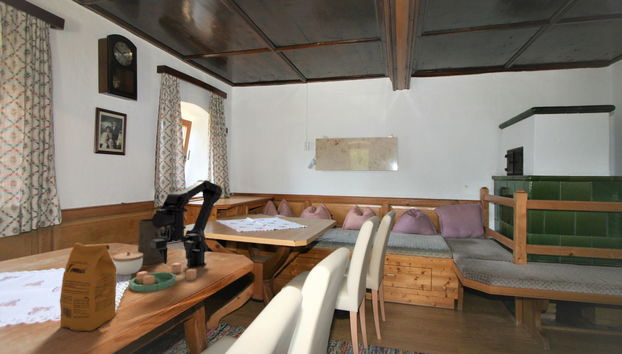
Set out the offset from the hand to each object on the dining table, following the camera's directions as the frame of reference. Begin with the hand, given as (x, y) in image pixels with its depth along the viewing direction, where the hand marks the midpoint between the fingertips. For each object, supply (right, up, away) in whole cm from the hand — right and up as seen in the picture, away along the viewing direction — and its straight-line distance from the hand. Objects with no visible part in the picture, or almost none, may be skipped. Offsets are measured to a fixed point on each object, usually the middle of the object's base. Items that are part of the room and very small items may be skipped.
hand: (176, 261), depth 127 cm
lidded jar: (-19, -5, -1) cm, 20 cm away
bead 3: (0, -5, 0) cm, 5 cm away
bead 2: (-2, -4, -18) cm, 18 cm away
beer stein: (-19, -5, +19) cm, 28 cm away
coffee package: (-6, -6, -42) cm, 43 cm away
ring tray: (-2, -5, -14) cm, 15 cm away
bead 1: (-6, -4, -14) cm, 16 cm away
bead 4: (+9, -5, -8) cm, 13 cm away
